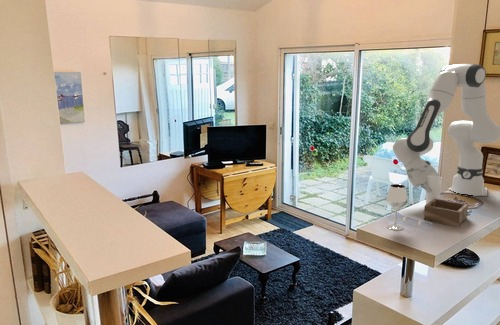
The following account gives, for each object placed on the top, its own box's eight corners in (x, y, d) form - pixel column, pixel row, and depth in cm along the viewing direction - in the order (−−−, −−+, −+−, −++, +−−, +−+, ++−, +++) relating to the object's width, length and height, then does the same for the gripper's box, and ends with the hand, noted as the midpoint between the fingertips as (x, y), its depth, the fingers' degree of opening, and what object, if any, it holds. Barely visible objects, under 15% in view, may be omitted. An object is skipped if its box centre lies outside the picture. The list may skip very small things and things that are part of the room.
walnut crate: (433, 211, 183) (434, 198, 182) (466, 218, 174) (468, 204, 173) (423, 219, 173) (424, 205, 171) (458, 227, 164) (459, 212, 162)
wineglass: (380, 227, 165) (383, 185, 161) (391, 222, 170) (393, 182, 166) (398, 232, 159) (401, 189, 155) (409, 227, 164) (412, 186, 160)
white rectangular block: (436, 205, 193) (438, 175, 190) (441, 209, 186) (444, 178, 184) (422, 204, 194) (424, 175, 191) (426, 209, 187) (429, 178, 184)
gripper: (409, 166, 185) (428, 190, 179) (431, 161, 197) (449, 183, 192) (400, 174, 189) (418, 198, 184) (422, 168, 202) (439, 190, 196)
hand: (434, 190), depth 188 cm, fingers closed on white rectangular block, 6 cm apart
